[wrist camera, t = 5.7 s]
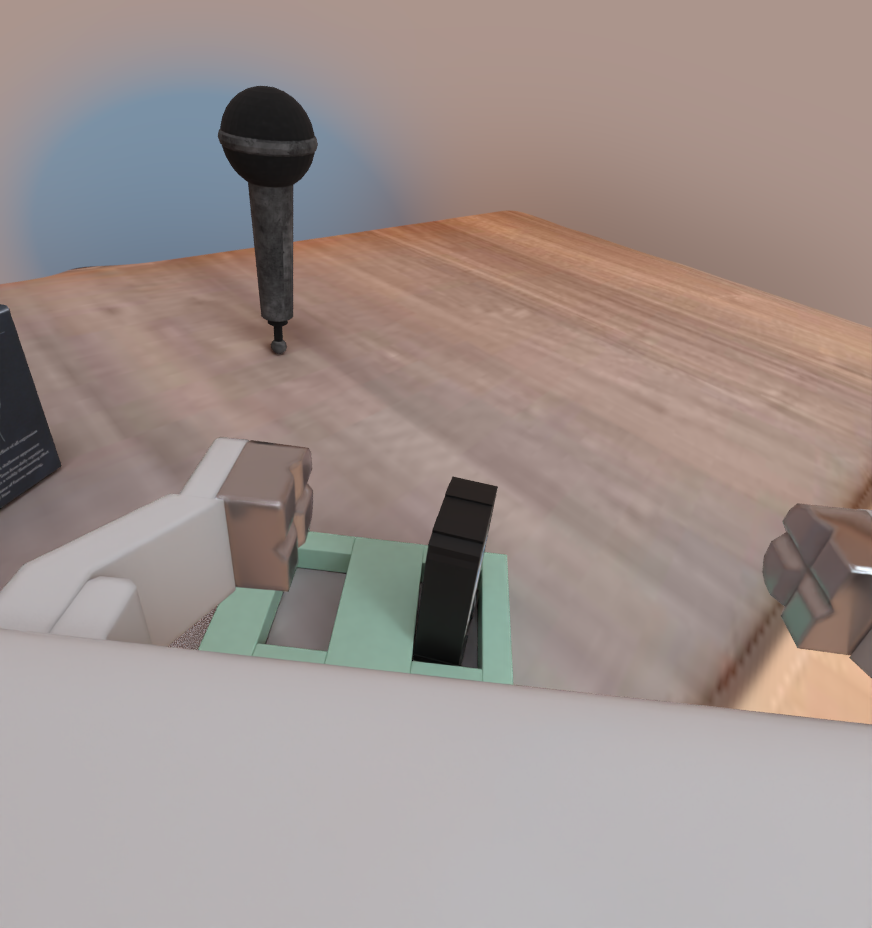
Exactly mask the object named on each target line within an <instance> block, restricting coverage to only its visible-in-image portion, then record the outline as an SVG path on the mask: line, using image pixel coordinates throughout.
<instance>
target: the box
mask: <svg viewBox="0 0 872 928" xmlns="http://www.w3.org/2000/svg"><path fill="white" fill-rule="evenodd" d="M60 467H61V462H60V460H59V457H58V454H57V451H56V448H55V444H54V442H53V438H52V436H51V433H50V430H49V427H48V424H47V421H46V418H45V415H44V412H43V409H42V406H41V403H40V400H39V397H38V394H37V391H36V388H35V385H34V382H33V378H32V376H31V373H30V370H29V367H28V364H27V361H26V358H25V355H24V352H23V349H22V346H21V343H20V340H19V337H18V334H17V331H16V328H15V325H14V322H13V320H12V317H11V313H10V309H9V308H8V307H7V306H6V305H1V304H0V508H1V507H3V506H4V505H6V504H7V503H9V502H10V501H12V500H13V499H14V498H16V497H17V496H19V495H20V494H22V493H23V492H25V491H26V490H28V489H29V488H30V487H32V486H33V485H35V484H36V483H38V482H39V481H41V480H42V479H43V478H45V477H46V476H48V475H49V474H51V473H52V472H54V471H55V470H57V469H58V468H60Z"/></svg>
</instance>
